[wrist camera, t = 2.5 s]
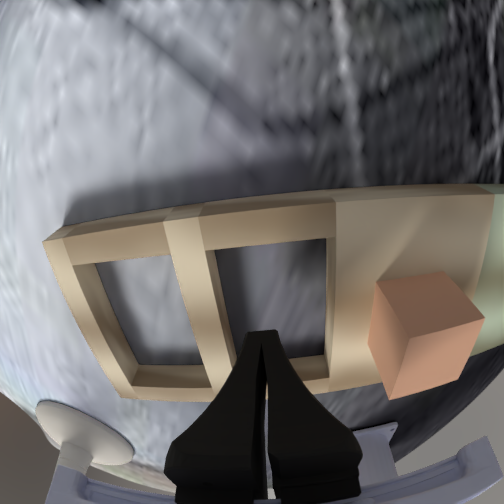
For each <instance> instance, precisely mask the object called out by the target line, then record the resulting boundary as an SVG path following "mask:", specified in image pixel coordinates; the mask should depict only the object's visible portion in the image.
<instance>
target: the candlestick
mask: <svg viewBox="0 0 504 504" xmlns="http://www.w3.org/2000/svg"><path fill="white" fill-rule="evenodd" d="M36 415H37V418H38V420H39V422H40V424H41V426H42V427H43V429H44V430H45V431H46V432H47V433H48V435H49V436H50V437H51V438H52V439H53V440H55V441H56V442H57V443H58V444H59V445H61V449H60V455H59V457H58V461H57V465H56V468H57V466H58V464H60V465H63V466H66V467H69V468H72V469H75V470H77V471H79V472H81V473H83V474H84V475H85V473H86V472H87V468H88V466H89V465H90V463H91V462H95V463H100V464H106V465H120V464H125V463H128V462H130V461H131V460H132V458H133V455H134V451H133V448H132V447H131V445H130V444H129V443H128V442H127V441H126V440H125V439H124V438H123V437H121V436H120V435H119V434H118V433H116V432H115V431H114V430H112V429H111V428H109V427H107V426H106V425H104V424H103V423H101V422H99V421H97V420H96V419H94V418H92V417H90V416H88V415H86V414H84V413H82V412H80V411H78V410H76V409H73V408H71V407H68V406H66V405H63V404H60V403H56V402H51V401H42V402H40V403H38V405H37V407H36ZM55 471H56V469H55ZM54 474H55V472H54ZM53 477H54V475H53ZM52 480H53V479H52Z"/></svg>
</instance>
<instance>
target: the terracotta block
mask: <svg viewBox="0 0 504 504" xmlns="http://www.w3.org/2000/svg"><path fill="white" fill-rule="evenodd" d="M484 320H485V317H484V316H483V314H482V313H481V312H480V311H479V310H478V308H477V307H476V306H475V305H474V304H473V303H472V302H471V300H470V299H469V298H468V297H467V296H466V295H465V294H464V293H463V291H462V290H461V289H460V288H459V287H458V286H457V285H456V284H455V283H454V282H453V281H452V279H451V278H450V277H449V276H448V275H447V274H446V273H445V272H444V271H441V272H436V273H430V274H424V275H418V276H411V277H405V278H398V279H392V280H385V281H378V282H376V285H375V294H374V302H373V309H372V316H371V323H370V330H369V336H368V342H367V344H368V346H369V349H370V351H371V354H372V356H373V359H374V361H375V364H376V366H377V369H378V372H379V374H380V377H381V379H382V382H383V385H384V387H385V390H386V393H387V395H388V398H389V400H391V399H395V398H399V397H403V396H407V395H410V394H414V393H417V392H421V391H424V390H427V389H431V388H434V387H437V386H440V385H443V384H446V383H449V382H451V381H454V380H457V379H458V378H459V376H460V374H461V372H462V370H463V368H464V366H465V364H466V362H467V360H468V358H469V356H470V353H471V351H472V349H473V347H474V344H475V342H476V340H477V337H478V335H479V333H480V330H481V328H482V325H483V323H484Z"/></svg>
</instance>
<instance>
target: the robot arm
mask: <svg viewBox="0 0 504 504" xmlns="http://www.w3.org/2000/svg"><path fill="white" fill-rule="evenodd" d="M267 385H268V456H269V460H270V465H271V470H272V481H273V489H274V492H275V496H276V499H268V491H267V474H266V454H265V432H264V420H265V404H266V386H267ZM397 427H398V423H397V422H392V423H388V424H384V425H380V426H376V427H372V428H367V429H363V430H358V431H353V432H352V431H351V430H350V429H349V428H348V427H346V426H345V425H344V424H342V423H341V422H340V421H339V420H337V419H336V418H335V417H334V416H333V415H332V414H331V413H330V412H329V411H328V410H327V409H326V408H325V407H324V406H323V405H322V404H321V403H320V402H319V401H318V400H317V399H316V398H315V397H314V396H313V394H312V393H311V392H310V391H309V389H308V388H307V387H306V386H305V384H304V383H303V382H302V380H301V379H300V377H299V376H298V374H297V373H296V371H295V369H294V368H293V366H292V364H291V363H290V361H289V359H288V357H287V355H286V353H285V351H284V349H283V346H282V344H281V341H280V339H279V335H278V331H277V330H264V331H253V332H247V333H246V335H245V339H244V342H243V345H242V348H241V351H240V353H239V356H238V358H237V360H236V362H235V365H234V367H233V369H232V371H231V372H230V374H229V376H228V378H227V380H226V382H225V383H224V385H223V386H222V388H221V390H220V391H219V393H218V394H217V395H216V397H215V398H214V400H213V401H212V402H211V403H210V405H209V406H208V407H207V409H206V410H205V411H204V412H203V413H202V414H201V415H200V416H199V417H198V419H197V420H196V421H195V422H194V423H193V424H192V425H191V426H190V427H189V428H188V429H187V430H185V431H184V432H183V433H182V434H181V435H180V436H178V437H177V438H176V439H175V440H174V441H172V443H171V445H170V448H169V450H168V453H167V456H166V461H165V467H164V474H165V475H166V476H167V478H168V479H170V480H171V481H172V482H173V483H174V484H175V485H176V486H177V487H176V494H175V496H169V495H162V494H156V493H149V492H144V491H139V490H134V489H129V488H124V487H120V486H115V485H111V484H107V483H104V482H100V481H96V480H93V479H89V478H87V476H85V475H84V474H83V473H81V472H79V471H77V470H75V469H72V468H69V467H66V466H63V465H60V464H58V466H57V468H56V471H55V474H54V477H53V480H52V483H51V486H50V489H49V492H48V495H47V498H46V501H45V504H464V503H465V502H467V501H469V500H471V499H473V498H475V497H476V496H478V495H480V494H481V493H483V492H484V491H486V490H487V489H488V488H490V487H491V486H493V485H494V484H495V483H497V482H498V481H499V480H501V479H502V478H503V473H502V471H501V469H500V466H499V463H498V461H497V459H496V456H495V454H494V451H493V449H492V447H491V445H490V442H489V440H488V438H487V436H483V437H481V438H479V439H477V440H475V441H474V442H471V443H469V444H468V445H466V446H464V447H463V448H462V449H460V450H459V451H458V453H457V454H456V455H454V456H452V457H450V458H448V459H445V460H443V461H440V462H438V463H435V464H433V465H430V466H427V467H425V468H422V469H419V470H416V471H414V472H411V473H408V474H405V475H401V476H398V475H397V471H396V467H395V464H394V460H393V457H392V453H391V450H390V446H389V441H390V440H391V438H392V436H393V434H394V432H395V430H396V428H397Z"/></svg>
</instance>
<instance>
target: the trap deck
mask: <svg viewBox="0 0 504 504" xmlns="http://www.w3.org/2000/svg"><path fill="white" fill-rule="evenodd" d="M320 238H326V254H327V276H326V323H325V346H324V355H316V356H309V357H301V358H292V359H289V361H290V363H291V364H292V366H293V368H294V369H295V371H296V373H297V374H298V376H299V377H300V379H301V380H302V382H303V383H304V384H305V386H306V387H307V388H308V389H309V391H310V392H311V393H312V394H319V393H325V392H332V391H338V390H344V389H350V388H355V387H360V386H365V385H370V384H375V383H380V382H382V379H381V377H380V374H379V372H378V369H377V366H376V364H375V361H374V359H373V356H372V354H371V351H370V349H369V346H368V344H367V342H368V336H369V330H370V323H371V316H372V309H373V302H374V294H375V285H376V282H378V281H385V280H392V279H398V278H405V277H411V276H418V275H424V274H430V273H436V272H441V271H444V272H445V273H446V274H447V275H448V276H449V277H450V278H451V279H452V281H453V282H454V283H455V284H456V285H457V286H458V287H459V288H460V289H461V290H462V291H463V293H464V294H465V295H466V296H467V297H468V298H469V299H470V300H471V302H472V303H473V304H474V305H475V306H476V307H477V308H478V310H479V311H480V312H481V313H482V314H483V316H484V317H485V320H484V323H483V325H482V328H481V330H480V333H479V335H478V337H477V340H476V342H475V344H474V347H473V349H472V351H471V353H470V356H473V355H476V354H478V353H481V352H484V351H486V350H489V349H491V348H494V347H496V346H499V345H501V344H503V343H504V184H418V185H392V186H372V187H355V188H340V189H327V190H314V191H303V192H292V193H282V194H272V195H262V196H253V197H244V198H236V199H228V200H220V201H212V202H205V203H197V204H190V205H183V206H176V207H170V208H163V209H157V210H151V211H145V212H139V213H133V214H127V215H121V216H115V217H110V218H105V219H99V220H94V221H89V222H84V223H79V224H74V225H69V226H64V227H61V228H60V229H58V230H57V231H56V232H54V233H53V234H52V235H50V236H49V237H48V238H47V239H45V240H44V241H43V242H42V243H43V246H44V249H45V251H46V254H47V257H48V259H49V262H50V264H51V267H52V270H53V272H54V274H55V277H56V279H57V282H58V284H59V286H60V289H61V291H62V293H63V295H64V297H65V300H66V302H67V304H68V306H69V308H70V310H71V312H72V314H73V316H74V318H75V320H76V322H77V324H78V326H79V328H80V330H81V332H82V334H83V336H84V338H85V340H86V341H87V343H88V345H89V347H90V349H91V350H92V352H93V354H94V356H95V357H96V359H97V361H98V362H99V364H100V366H101V367H102V369H103V371H104V372H105V374H106V376H107V377H108V379H109V380H110V382H111V383H112V385H113V386H114V388H115V390H116V391H117V393H118V394H119V396H120V397H121V398H129V399H141V400H157V401H182V402H212V401H213V400H214V398H215V397H216V395H217V394H218V393H219V391H220V390H221V388H222V386H223V385H224V383H225V382H226V380H227V378H228V376H229V374H230V372H231V371H232V369H233V367H234V365H235V362H236V360H237V356H236V352H235V347H234V343H233V338H232V334H231V329H230V325H229V320H228V315H227V311H226V306H225V301H224V296H223V292H222V287H221V282H220V277H219V272H218V267H217V262H216V257H215V251H214V250H216V249H225V248H234V247H243V246H253V245H262V244H272V243H281V242H291V241H301V240H310V239H320ZM170 254H171V257H172V260H173V264H174V268H175V272H176V275H177V279H178V283H179V286H180V290H181V293H182V297H183V300H184V303H185V307H186V310H187V314H188V317H189V320H190V323H191V327H192V330H193V333H194V336H195V339H196V342H197V345H198V349H199V352H200V355H201V358H202V361H203V363H204V365H139V364H138V362H137V360H136V358H135V356H134V354H133V352H132V350H131V348H130V346H129V344H128V342H127V340H126V338H125V336H124V334H123V331H122V329H121V327H120V325H119V323H118V320H117V318H116V316H115V314H114V311H113V309H112V307H111V304H110V302H109V299H108V297H107V294H106V292H105V289H104V287H103V284H102V282H101V279H100V277H99V274H98V271H97V269H96V266H95V263H99V262H108V261H116V260H125V259H134V258H143V257H152V256H161V255H170ZM470 356H469V357H470ZM266 399H268V385H267V386H266Z"/></svg>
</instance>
